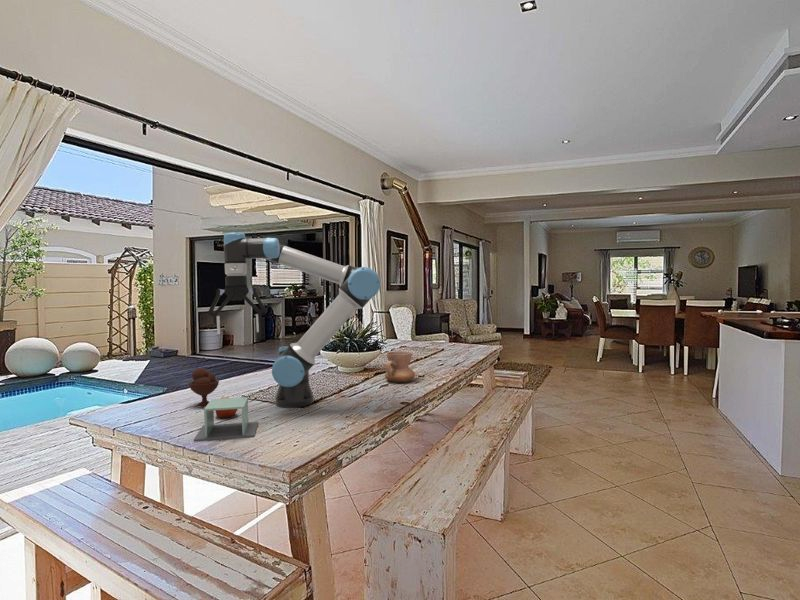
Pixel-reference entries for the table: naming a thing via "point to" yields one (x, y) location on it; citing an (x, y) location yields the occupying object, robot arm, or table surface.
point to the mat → (227, 431)
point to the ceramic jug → (399, 367)
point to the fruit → (225, 412)
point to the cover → (225, 405)
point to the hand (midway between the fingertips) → (238, 332)
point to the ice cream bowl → (203, 384)
